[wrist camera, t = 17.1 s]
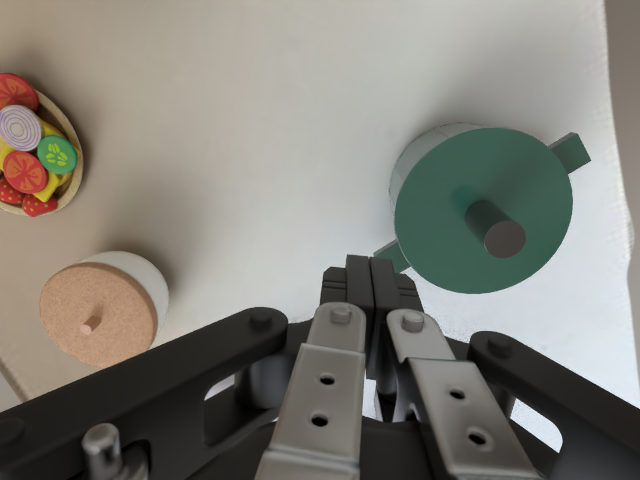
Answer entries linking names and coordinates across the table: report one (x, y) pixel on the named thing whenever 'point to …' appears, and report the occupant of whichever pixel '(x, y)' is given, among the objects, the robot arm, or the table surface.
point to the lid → (483, 210)
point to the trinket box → (105, 307)
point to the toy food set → (35, 151)
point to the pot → (564, 148)
